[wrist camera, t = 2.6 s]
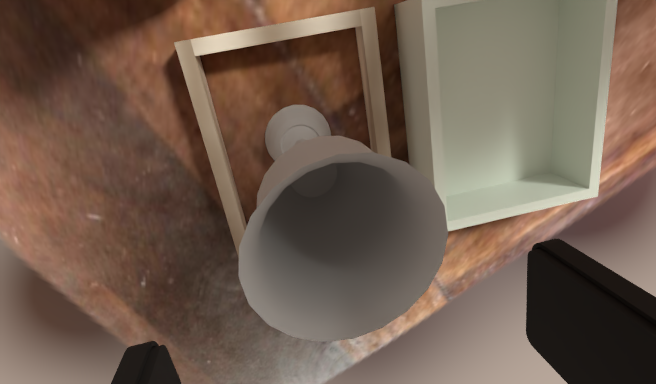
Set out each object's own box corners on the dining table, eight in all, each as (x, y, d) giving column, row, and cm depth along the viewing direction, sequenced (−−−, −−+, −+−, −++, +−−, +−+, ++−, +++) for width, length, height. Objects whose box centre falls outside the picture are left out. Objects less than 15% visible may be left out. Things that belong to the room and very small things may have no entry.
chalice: (295, 199, 31) (333, 372, 14) (231, 140, 29) (189, 267, 12) (362, 136, 30) (485, 244, 14) (302, 69, 28) (363, 102, 11)
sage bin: (563, -26, 28) (621, -40, 24) (552, 176, 34) (597, 196, 30) (394, 4, 27) (421, -5, 23) (413, 207, 33) (437, 233, 28)
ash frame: (366, 9, 27) (374, 6, 25) (391, 213, 33) (398, 222, 31) (180, 42, 26) (174, 42, 24) (240, 247, 32) (239, 259, 30)
